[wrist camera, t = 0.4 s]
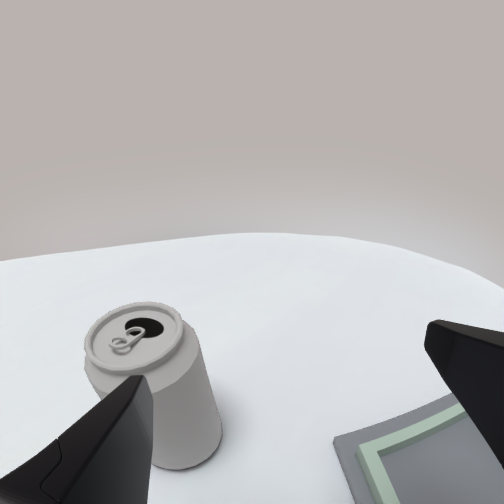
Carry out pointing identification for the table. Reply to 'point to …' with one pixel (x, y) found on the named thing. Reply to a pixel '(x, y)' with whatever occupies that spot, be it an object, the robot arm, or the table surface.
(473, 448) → the grey tray
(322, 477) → the table surface
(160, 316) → the can
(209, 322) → the table surface
